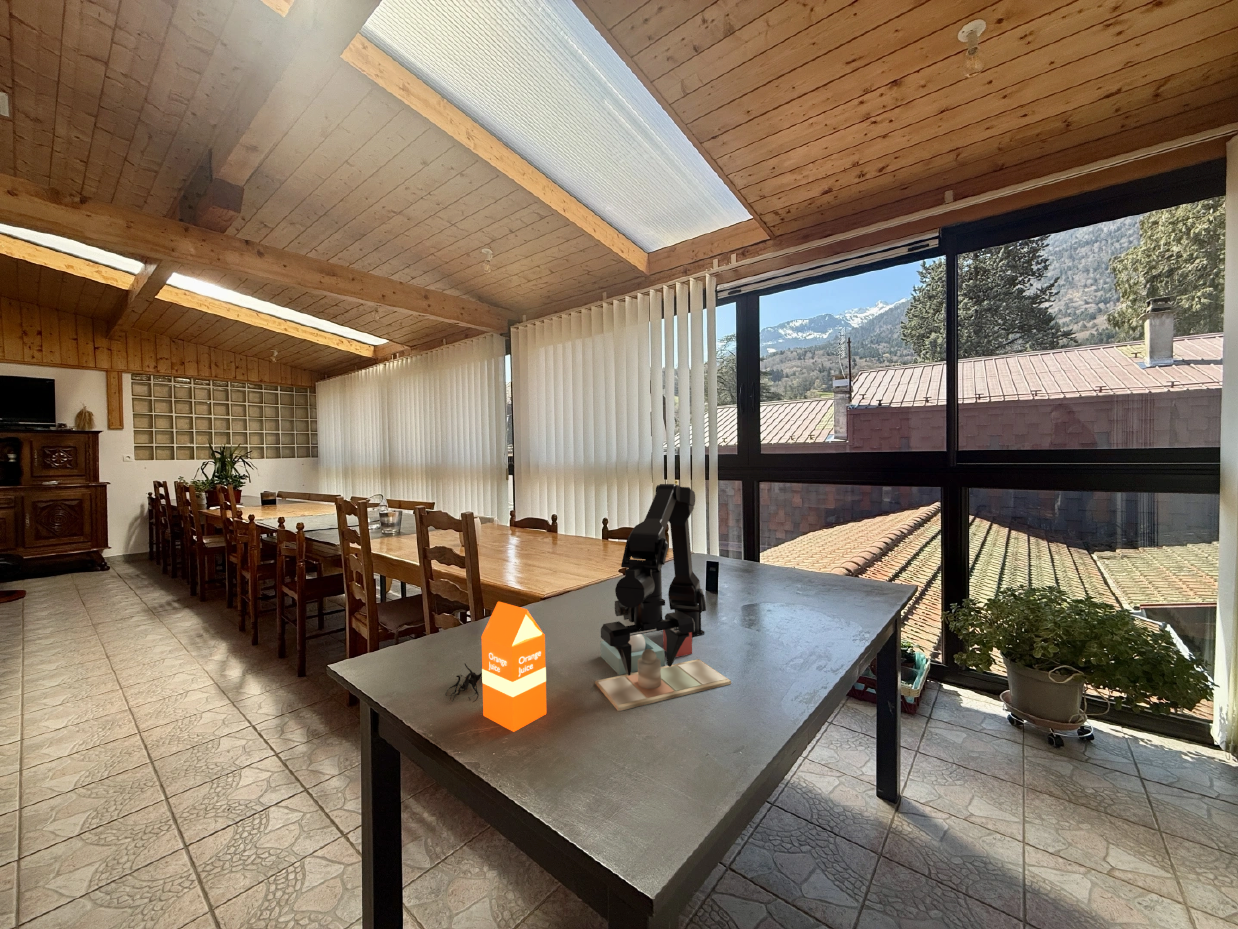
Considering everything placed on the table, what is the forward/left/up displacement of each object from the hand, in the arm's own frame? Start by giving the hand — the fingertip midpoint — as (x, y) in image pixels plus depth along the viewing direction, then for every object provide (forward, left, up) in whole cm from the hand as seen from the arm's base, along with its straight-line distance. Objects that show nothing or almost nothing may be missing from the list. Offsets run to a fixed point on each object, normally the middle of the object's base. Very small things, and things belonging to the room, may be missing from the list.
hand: (649, 670), depth 98 cm
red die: (-14, -13, -3) cm, 19 cm away
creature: (+35, -13, -4) cm, 37 cm away
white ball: (-2, -13, -3) cm, 13 cm away
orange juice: (+27, -1, -4) cm, 27 cm away
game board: (-3, 0, -3) cm, 5 cm away
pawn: (0, 0, -3) cm, 3 cm away
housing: (-2, -13, -3) cm, 14 cm away
